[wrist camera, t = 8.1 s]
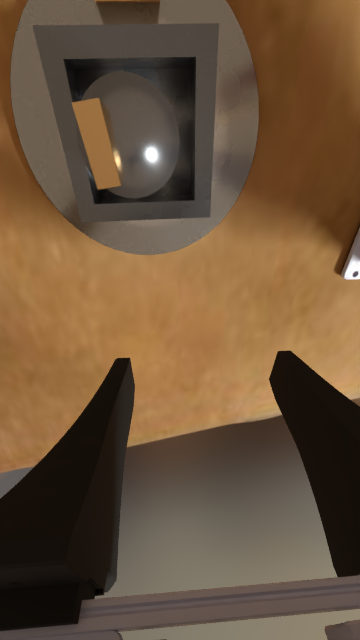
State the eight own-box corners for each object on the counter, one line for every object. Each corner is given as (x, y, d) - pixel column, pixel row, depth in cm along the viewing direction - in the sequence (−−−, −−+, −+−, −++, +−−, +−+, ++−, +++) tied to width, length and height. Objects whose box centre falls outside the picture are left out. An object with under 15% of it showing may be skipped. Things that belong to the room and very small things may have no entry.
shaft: (178, 176, 16) (185, 190, 11) (117, 187, 16) (95, 206, 11) (167, 92, 13) (170, 59, 8) (96, 106, 13) (55, 81, 8)
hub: (278, -55, 11) (305, -103, 9) (240, 248, 19) (250, 260, 17) (-39, -55, 11) (-89, -105, 8) (61, 256, 19) (48, 270, 17)
